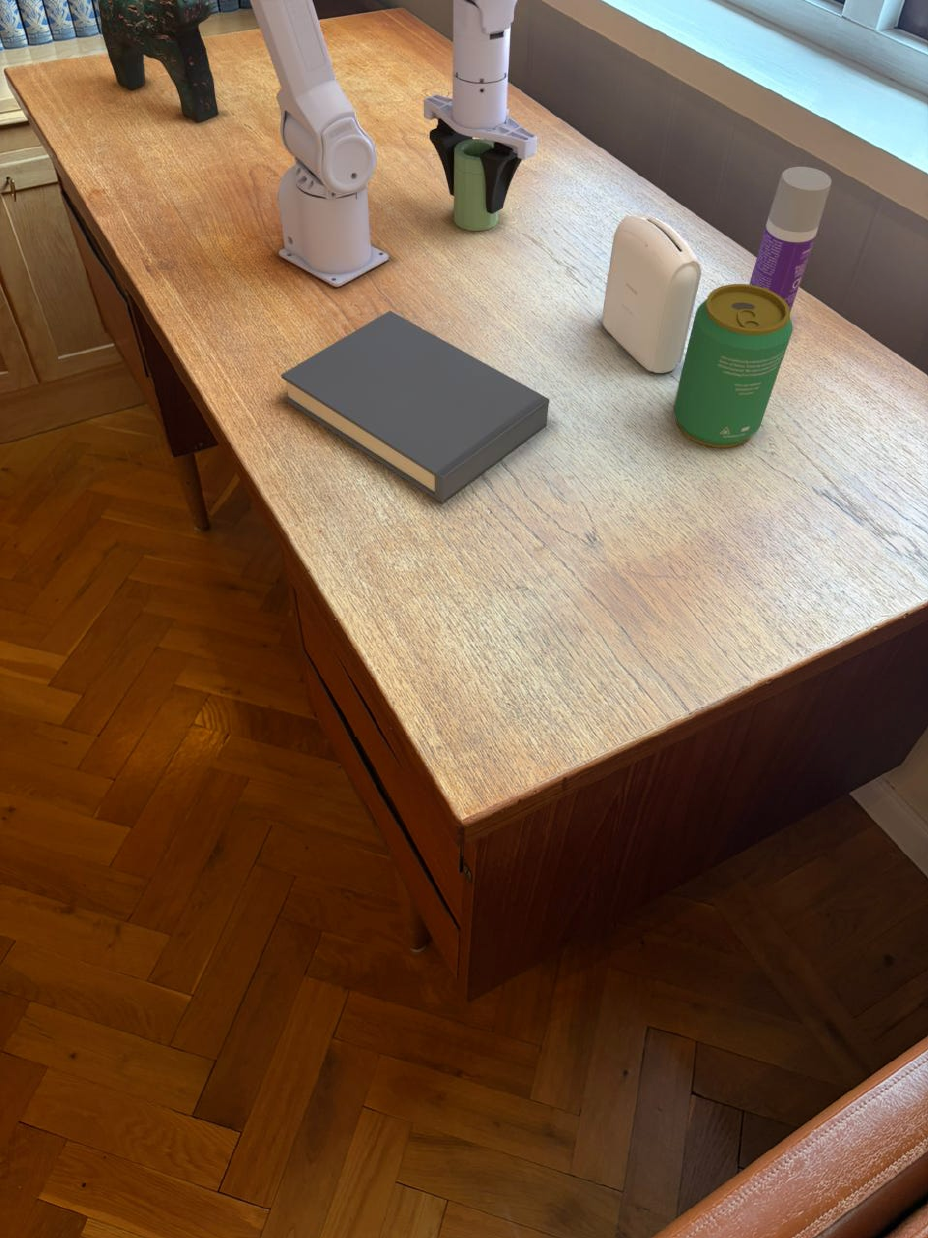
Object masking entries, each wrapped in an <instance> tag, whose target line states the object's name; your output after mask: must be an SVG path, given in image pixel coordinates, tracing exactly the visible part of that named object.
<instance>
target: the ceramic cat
mask: <svg viewBox="0 0 928 1238" xmlns="http://www.w3.org/2000/svg"><path fill="white" fill-rule="evenodd" d="M97 5H98V12H99V20H100V25H101V26H100V28H101V29H100V30H101V35H102V38H103V41H104V45H105V48H106V50H107V55H108V59H109V62H110V64H111V67H112V69H113V72H114V75H115V79H116V82H117V84H118V85H119V86H121V87H122V88H124V89H126V90H129V91H134V90H136V89H138V88H142V87H145V86H146V69H145V57H146V58H149V59H153V60H157V61H159V62H160V63H161V65H162V66H163V68H164V69H165V71H166V72H167V74H168V76H169V78H170V79H171V81H172V83H173V86H174V87H175V90H176V92H177V95H178V98H179V102H180V109H181V113H182V115H183V117H186V118H189V119H192V120H194V122H197V123H201V122H204V121H207V120H210V119H212V118H215V117H217V116H219V108H218V103H217V97H216V90H215V80H214V76H213V74H212V73H213V72H212V69H211V68H210V67H211V66H210V62H209V57H208V53H207V52H208V51H207V47H206V46H205V43H204V40H203V37H202V34H201V30H200V25H201V24H202V23H203V22H205V21H206V20H207V19H209V18H210V17H211V15H212V12H211V1H210V0H97Z"/></svg>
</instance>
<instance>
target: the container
mask: <svg viewBox="0 0 928 1238" xmlns="http://www.w3.org/2000/svg"><path fill="white" fill-rule="evenodd" d="M831 186H832V178H831V177H830V176H829V174H827V173H826V172H824V171H823V170H820V169H818V168H813V167H809V166H793V167H788V168H786V169H784V170H783V171H782V173H781V176H780V179H779V182H778V185H777V188H776V191H775V195H774V198H773V202H772V205H771V207H770V211H769V214H768V217H767V221H766V223H765V228H764V231H763V235H762V238H761V242H760V246H759V249H758V252H757V256H756V259H755V262H754V266H753V269H752V274H751V276H750V280H749V283H748V285H754V286H759V287H762V288H765V289H768V290H770V291H772V292H774V293H776V294H777V295H779V296H780V297H781V298H782V299H784V300H785V302H786V303H787V304H788V306H789V309H790V313H791V312H792V309H793V305H794V302H795V300H796V297H797V293H798V291H799V288H800V285H801V282H802V278H803V277H804V276H803V275H804V272H805V270H806V266H807V264H808V260H809V257H810V254H811V251H812V249H813V246H814V241H815V239H816V237H817V233H818V229H819V226H820V223H821V219H822V216H823V213H824V209H825V207H826V202H827V199H828V196H829V192H830V190H831Z"/></svg>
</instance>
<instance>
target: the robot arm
mask: <svg viewBox="0 0 928 1238" xmlns="http://www.w3.org/2000/svg"><path fill="white" fill-rule="evenodd" d="M452 1H453V2H452V11H453V12H452V19H453V20H452V92H451V93H452V97H446V96H442V95H440V94H437V93H435V94H432V95H430V96H428V97H425V98H423V118H425V119H426V120H429V121H432V120H437V124H436V127H435V128H433V129H431V130H430V131H429V141H430V142H431V143H432V146H433V148H434V149H435V151H436V153H437V155H438V157H439V160H440V162H441V165H442V168H443V171H444V176H445V179H446V183H447V188H448V193H449V195H450V196H452V197H454V148H455V146H456V145H457V144H458V143H460V142H462V141H465V140H470V139H484V140H487V141H489V142H491V143H494V148H491V149H489V150H487V151H485V152H483V153H481V154H480V159H481V162H482V165H483V169H484V174H485V181H486V208H487V212H488V213H490V214H493V213H495V212H497V211H500V210H502V209H503V208H504V206H505V202H506V198H507V194H508V191H509V189H510V185H511V183H512V180H513V178H514V176H515V174H516V172H517V170H518V168H519V167H520V164H521V163H522V161H526V160H527V159H530V158H532V157H534V156H535V155H537V148H538V135H537V134H534V133H532V132H530V131H529V130H527V129H526V128H525V127H523V126H522V125H521V123H518V121H516V120H515V119H513V118H512V117H511V116H510V115H509V114H510V108H509V107H508V106H507V105H508V86H509V85H508V84H509V68H510V67H509V66H510V65H509V64H510V46H511V26H512V23H513V22H514V20H515V19H514V18H515V17H514V16H515V8H516V6H517V2H518V0H452ZM249 2H250V5H251V8H252V11H253V13H254V16H255V19H256V22H257V24H258V27H259V30H260V32H261V36H262V38H263V41H264V44H265V47H266V49H267V52H268V55H269V58H270V60H271V64H272V66H273V69H274V71H275V74H276V77H277V80H278V83H279V85H280V89H279V90H278V92H277V93H276V101H277V104H278V107H279V110H280V124H279V125H280V127H279V131H280V138H281V141H282V144H283V146H284V147H285V149H286V150H287V152H288V153H289V154H290V155H291V156H293V157H294V163H295V164H294V165H292V166H290V167H289V168H288V169H287V170H286V171H285V172H284V174H283V175H282V178H281V179H280V182H279V185H278V190H277V204H278V211H279V218H280V225H281V232H282V239H283V247H284V248H281V249H280V250H279V251H278V255H279V256H280V257H281V258H283V259H285V260H286V261H288V262H289V263H291V264H294V265H295V266H297V267H299V268H300V269H302V270H303V271H306V272H307V273H310V274H311V275H313V276H315V277H317V278H318V279H319V280H322V281H324V282H325V283H327V284H329V285H331V286H332V287H335V288H339V287H342V286H343V285H345V284H347V283H349V282H351V281H353V280H354V279H356V278H358V277H360V276H362V275H363V274H365V273H367V272H369V271H370V270H372V269H374V268H376V267H378V266H379V265H382V264H383V263H385V262H387V261H388V260H389V258H390V255H389V254H388V253H387V252H384V251H382V250H380V249H378V248H377V247H374V246H372V241H371V226H370V211H369V210H370V209H369V195H368V183H369V182H370V180H371V179H372V177H373V175H374V173H375V170H376V167H377V161H378V154H377V148H376V144H375V142H374V140H373V138H372V137H371V135H370V134H369V133H367V132H366V131H365V130H364V129H363V128H362V126H361V124H360V123H359V120H358V116H357V113H356V110H355V108H354V107H353V105H352V103H351V101H350V100H349V98H348V96H347V95H346V93H345V91H344V90H343V88H342V87H341V85H340V82H339V81H338V79H337V76H336V74H335V73H336V72H335V69H334V67H333V63H332V61H331V56H330V54H329V51H328V46H327V43H326V40H325V37H324V34H323V31H322V27H321V25H320V20H319V17H318V15H317V12H316V8H315V4H314V2H313V0H249Z"/></svg>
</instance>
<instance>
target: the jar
mask: <svg viewBox="0 0 928 1238" xmlns="http://www.w3.org/2000/svg"><path fill="white" fill-rule="evenodd" d="M491 148H494V143H491V142H489V141H487V140H484V139H480V138H472V139H470V140H465V141H462V142H460V143H458V144H457V145H456V146H455V148H454V196H453V221H454V224H455V225H456V226H458V227H459V228H461V229H463V230H467V231H471V232H481V231H487V230H489V229H490V230H491V229H492V228H494V227H495V226H497V224H498V221H499V211H500V210H499V211H497V212H495V213H493V214H490V213H488V212H487V208H486V181H485V174H484V169H483V165H482V162H481V159H480V154H481V153H483V152H485V151H487V150H489V149H491Z"/></svg>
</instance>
